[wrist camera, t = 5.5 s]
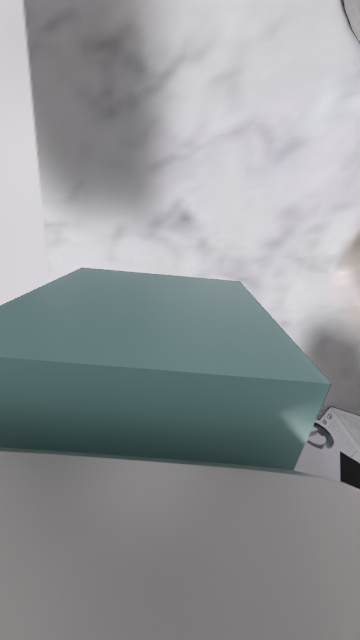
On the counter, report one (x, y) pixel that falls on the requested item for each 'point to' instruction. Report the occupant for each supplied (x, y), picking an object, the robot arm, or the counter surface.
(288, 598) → the robot arm
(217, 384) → the mint green block
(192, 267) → the counter surface
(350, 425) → the skincare box
